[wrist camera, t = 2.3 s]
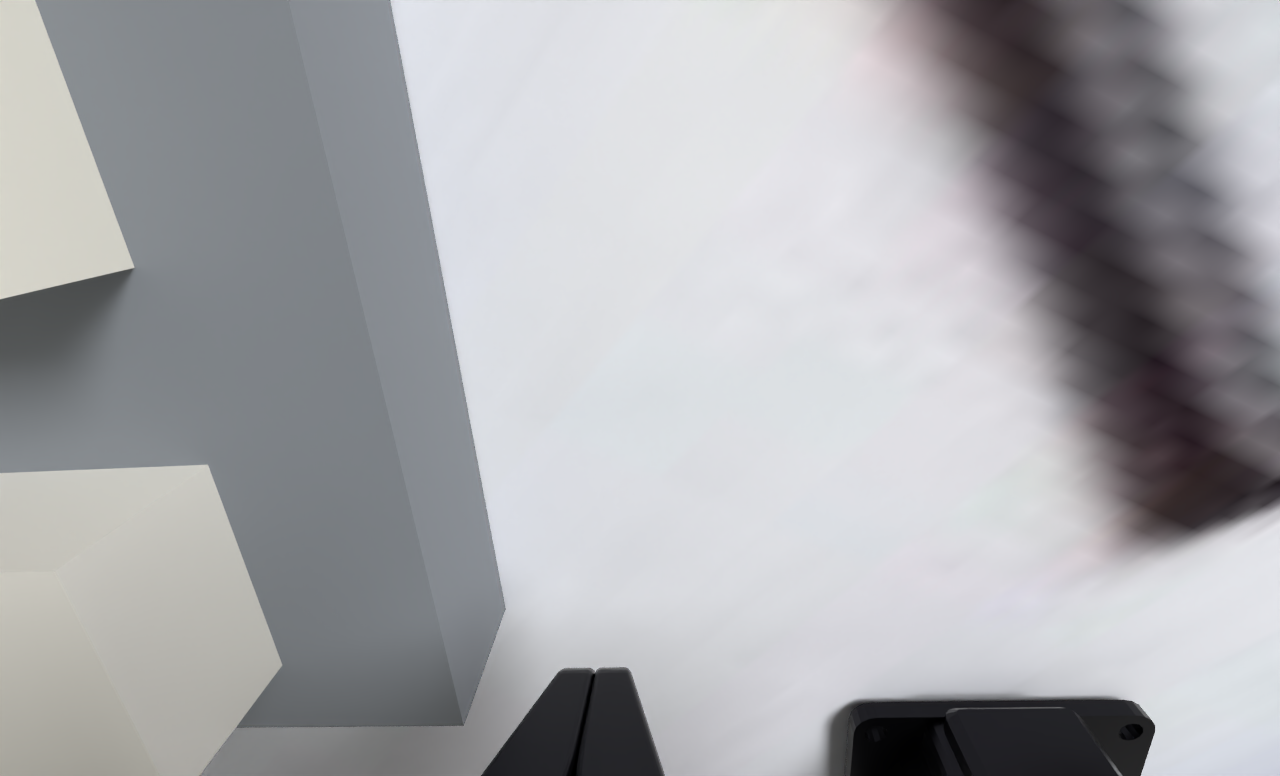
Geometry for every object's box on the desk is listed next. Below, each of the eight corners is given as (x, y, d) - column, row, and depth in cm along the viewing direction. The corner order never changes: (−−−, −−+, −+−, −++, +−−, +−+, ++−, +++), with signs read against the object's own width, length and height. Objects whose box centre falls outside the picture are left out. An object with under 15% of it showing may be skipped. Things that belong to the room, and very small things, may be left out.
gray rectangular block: (505, 609, 14) (463, 725, 11) (55, 618, 15) (-89, 730, 12) (340, -260, 8) (177, -458, 6) (-365, -171, 9) (-813, -305, 6)
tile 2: (282, 665, 11) (176, 807, 9) (71, 667, 11) (-87, 806, 9) (208, 464, 9) (54, 571, 7) (-34, 474, 10) (-257, 579, 7)
